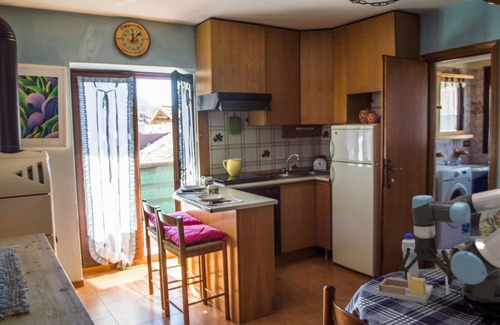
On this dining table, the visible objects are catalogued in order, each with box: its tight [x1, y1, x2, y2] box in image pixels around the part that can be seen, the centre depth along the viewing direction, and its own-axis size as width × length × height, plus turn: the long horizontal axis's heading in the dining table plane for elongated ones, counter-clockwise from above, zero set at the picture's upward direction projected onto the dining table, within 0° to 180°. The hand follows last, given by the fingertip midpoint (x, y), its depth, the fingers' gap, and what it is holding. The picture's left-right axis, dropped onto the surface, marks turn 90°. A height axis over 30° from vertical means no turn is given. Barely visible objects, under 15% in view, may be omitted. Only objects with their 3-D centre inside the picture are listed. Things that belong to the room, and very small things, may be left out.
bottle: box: [401, 232, 420, 278], centre depth 177 cm, size 7×7×20 cm
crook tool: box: [388, 276, 408, 281], centre depth 167 cm, size 8×4×2 cm, turn 55°
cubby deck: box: [377, 277, 434, 304], centre depth 161 cm, size 18×14×4 cm
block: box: [409, 277, 427, 296], centre depth 156 cm, size 5×5×5 cm
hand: (428, 290), depth 153 cm, fingers open, 13 cm apart
